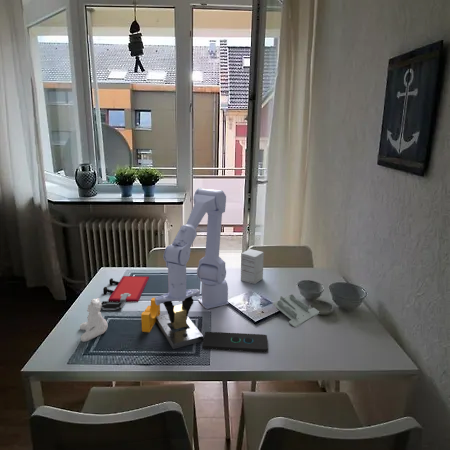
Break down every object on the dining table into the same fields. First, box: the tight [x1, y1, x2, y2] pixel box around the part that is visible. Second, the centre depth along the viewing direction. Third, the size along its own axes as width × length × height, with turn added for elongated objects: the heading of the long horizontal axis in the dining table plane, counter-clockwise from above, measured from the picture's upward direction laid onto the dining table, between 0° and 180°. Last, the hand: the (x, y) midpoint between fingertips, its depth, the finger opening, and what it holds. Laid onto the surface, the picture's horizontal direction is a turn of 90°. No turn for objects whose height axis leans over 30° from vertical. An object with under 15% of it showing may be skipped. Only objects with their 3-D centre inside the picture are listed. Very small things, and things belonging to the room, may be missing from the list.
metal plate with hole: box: [155, 313, 204, 350], centre depth 123 cm, size 10×18×2 cm, turn 27°
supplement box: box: [240, 248, 265, 285], centre depth 162 cm, size 7×7×13 cm
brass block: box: [171, 304, 187, 330], centre depth 121 cm, size 4×4×6 cm
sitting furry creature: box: [79, 297, 108, 343], centre depth 120 cm, size 10×9×12 cm
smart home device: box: [201, 331, 269, 353], centre depth 117 cm, size 8×2×20 cm
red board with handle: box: [100, 275, 150, 311], centre depth 149 cm, size 30×3×15 cm
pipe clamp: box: [140, 297, 161, 333], centre depth 127 cm, size 12×4×6 cm, turn 173°
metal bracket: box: [272, 293, 320, 328], centre depth 135 cm, size 14×6×15 cm
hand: (178, 319), depth 122 cm, fingers closed on brass block, 4 cm apart
